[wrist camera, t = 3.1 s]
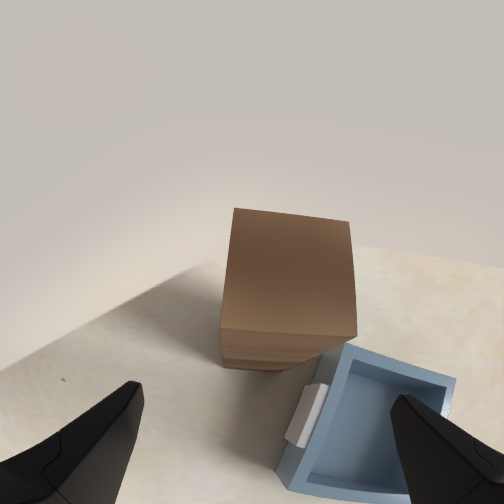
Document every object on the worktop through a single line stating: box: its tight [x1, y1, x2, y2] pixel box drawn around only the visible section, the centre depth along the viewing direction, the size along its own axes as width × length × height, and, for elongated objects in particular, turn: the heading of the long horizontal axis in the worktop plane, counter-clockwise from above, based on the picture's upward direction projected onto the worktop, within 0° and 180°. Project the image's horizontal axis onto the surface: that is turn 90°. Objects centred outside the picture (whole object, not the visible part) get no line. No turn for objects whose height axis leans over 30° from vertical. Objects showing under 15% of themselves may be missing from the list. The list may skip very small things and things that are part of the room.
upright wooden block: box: [220, 208, 357, 372], centre depth 15 cm, size 4×4×13 cm
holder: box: [275, 342, 456, 504], centre depth 16 cm, size 10×10×4 cm
